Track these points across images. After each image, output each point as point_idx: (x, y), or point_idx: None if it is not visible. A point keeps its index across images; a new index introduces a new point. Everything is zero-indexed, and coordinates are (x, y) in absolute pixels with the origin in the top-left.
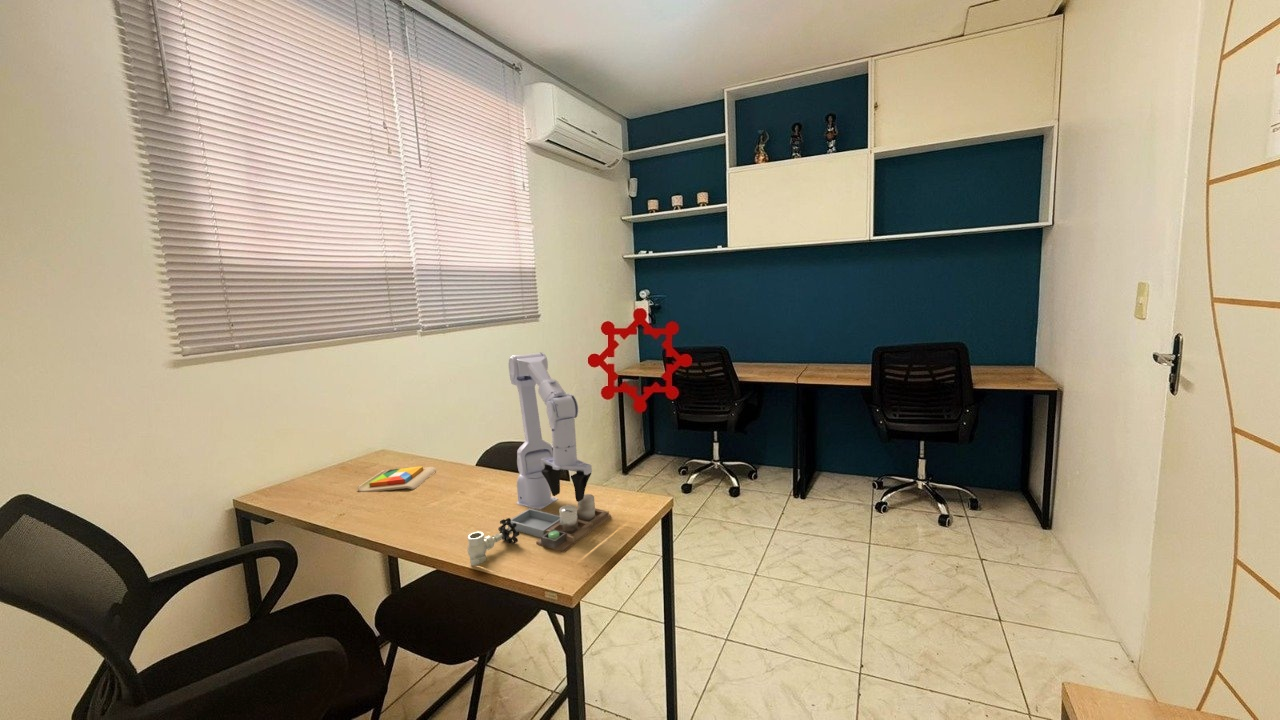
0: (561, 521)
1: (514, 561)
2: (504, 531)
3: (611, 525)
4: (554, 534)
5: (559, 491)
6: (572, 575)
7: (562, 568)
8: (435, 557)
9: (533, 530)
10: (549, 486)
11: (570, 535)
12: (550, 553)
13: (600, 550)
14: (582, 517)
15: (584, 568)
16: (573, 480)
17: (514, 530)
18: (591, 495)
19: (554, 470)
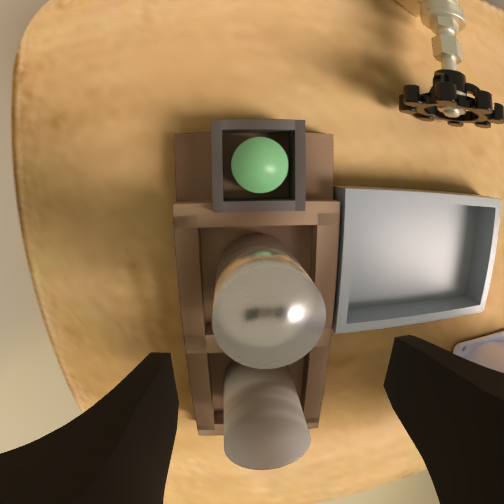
0: (277, 250)
1: (316, 18)
2: (452, 76)
3: None
4: (250, 159)
5: (388, 393)
6: (64, 57)
7: (116, 62)
8: (500, 11)
9: (394, 189)
10: (465, 359)
11: (196, 216)
12: (229, 111)
13: (71, 230)
14: None
15: (51, 107)
16: (57, 486)
17: (430, 96)
18: (256, 466)
19: (499, 498)
